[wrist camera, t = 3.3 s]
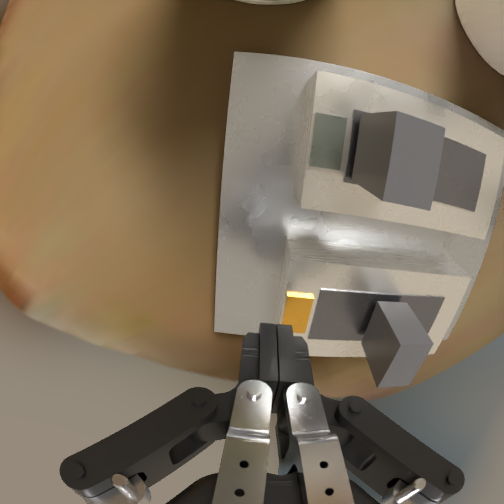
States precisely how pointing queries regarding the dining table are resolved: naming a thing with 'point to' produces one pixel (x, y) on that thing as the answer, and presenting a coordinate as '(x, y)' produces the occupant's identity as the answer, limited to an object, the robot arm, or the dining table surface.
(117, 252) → the dining table surface
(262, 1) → the coffee can
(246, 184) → the breaker panel
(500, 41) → the mug
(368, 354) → the breaker handle
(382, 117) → the on breaker handle
